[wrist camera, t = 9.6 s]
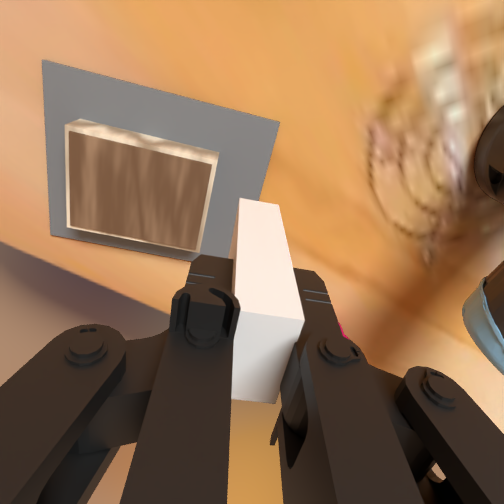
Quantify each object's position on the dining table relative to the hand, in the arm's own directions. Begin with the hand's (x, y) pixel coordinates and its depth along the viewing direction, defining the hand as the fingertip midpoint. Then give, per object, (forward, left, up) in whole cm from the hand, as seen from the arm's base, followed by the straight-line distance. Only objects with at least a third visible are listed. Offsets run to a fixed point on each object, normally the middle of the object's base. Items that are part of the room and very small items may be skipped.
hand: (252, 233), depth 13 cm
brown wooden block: (+2, +10, -27) cm, 29 cm away
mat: (+9, +10, -30) cm, 33 cm away
